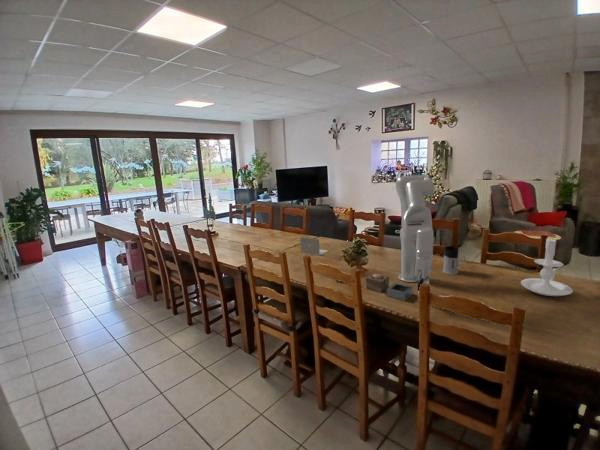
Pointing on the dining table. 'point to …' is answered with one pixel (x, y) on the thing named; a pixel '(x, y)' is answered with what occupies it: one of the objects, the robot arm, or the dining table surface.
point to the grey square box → (377, 283)
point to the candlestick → (547, 275)
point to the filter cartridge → (424, 282)
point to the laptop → (311, 246)
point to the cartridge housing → (400, 291)
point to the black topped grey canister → (451, 260)
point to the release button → (377, 276)
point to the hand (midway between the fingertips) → (423, 288)
